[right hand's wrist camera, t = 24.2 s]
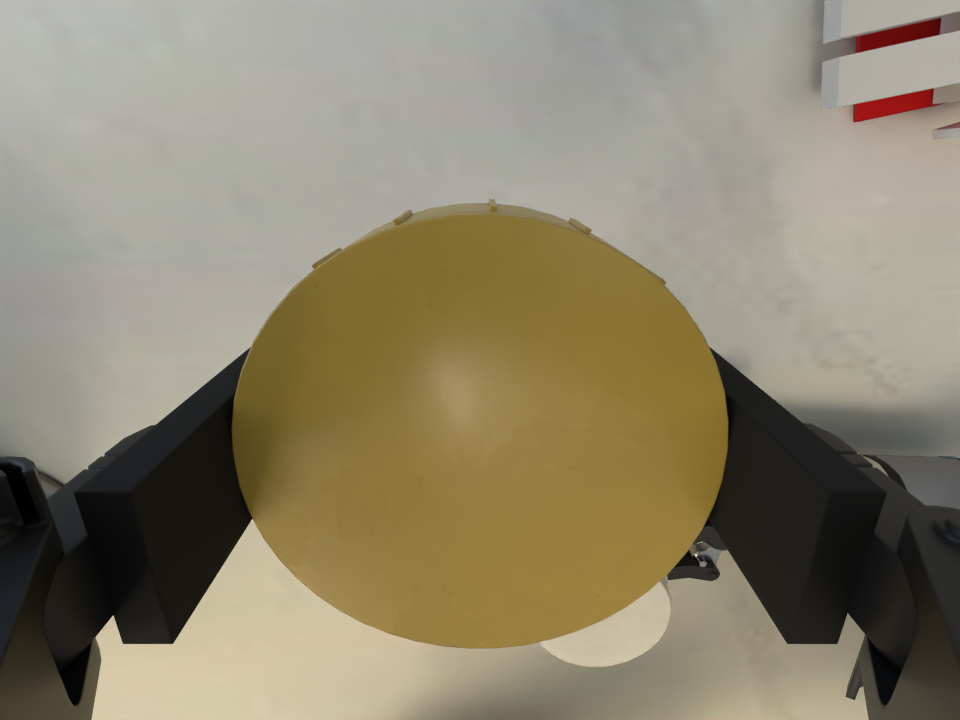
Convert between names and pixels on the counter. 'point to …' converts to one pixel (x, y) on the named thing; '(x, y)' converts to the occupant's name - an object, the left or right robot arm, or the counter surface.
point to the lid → (480, 428)
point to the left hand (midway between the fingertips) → (505, 489)
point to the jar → (617, 633)
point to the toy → (893, 57)
